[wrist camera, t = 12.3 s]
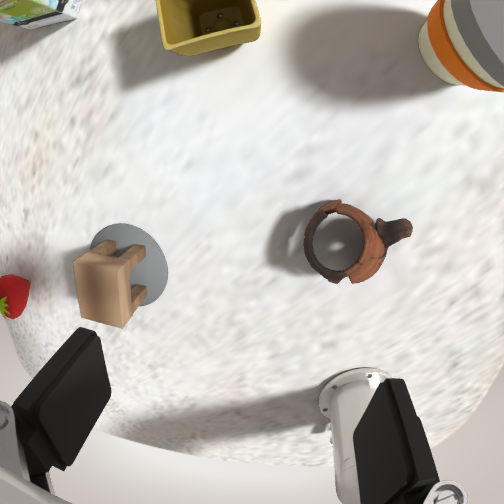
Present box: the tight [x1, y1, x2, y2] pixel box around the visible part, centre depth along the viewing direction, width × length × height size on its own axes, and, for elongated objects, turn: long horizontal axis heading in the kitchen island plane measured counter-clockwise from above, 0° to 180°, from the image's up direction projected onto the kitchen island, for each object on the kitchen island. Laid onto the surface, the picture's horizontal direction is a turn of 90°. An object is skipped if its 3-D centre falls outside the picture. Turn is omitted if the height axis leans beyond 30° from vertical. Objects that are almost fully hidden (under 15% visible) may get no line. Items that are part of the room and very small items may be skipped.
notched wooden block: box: [73, 240, 147, 329], centre depth 37 cm, size 6×8×8 cm
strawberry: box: [0, 274, 30, 319], centre depth 40 cm, size 6×8×10 cm
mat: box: [90, 223, 168, 306], centre depth 41 cm, size 12×12×1 cm
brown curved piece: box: [304, 199, 413, 284], centre depth 34 cm, size 12×9×8 cm
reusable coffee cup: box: [418, 0, 504, 92], centre depth 19 cm, size 13×13×15 cm
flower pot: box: [156, 0, 261, 56], centre depth 25 cm, size 9×9×9 cm
